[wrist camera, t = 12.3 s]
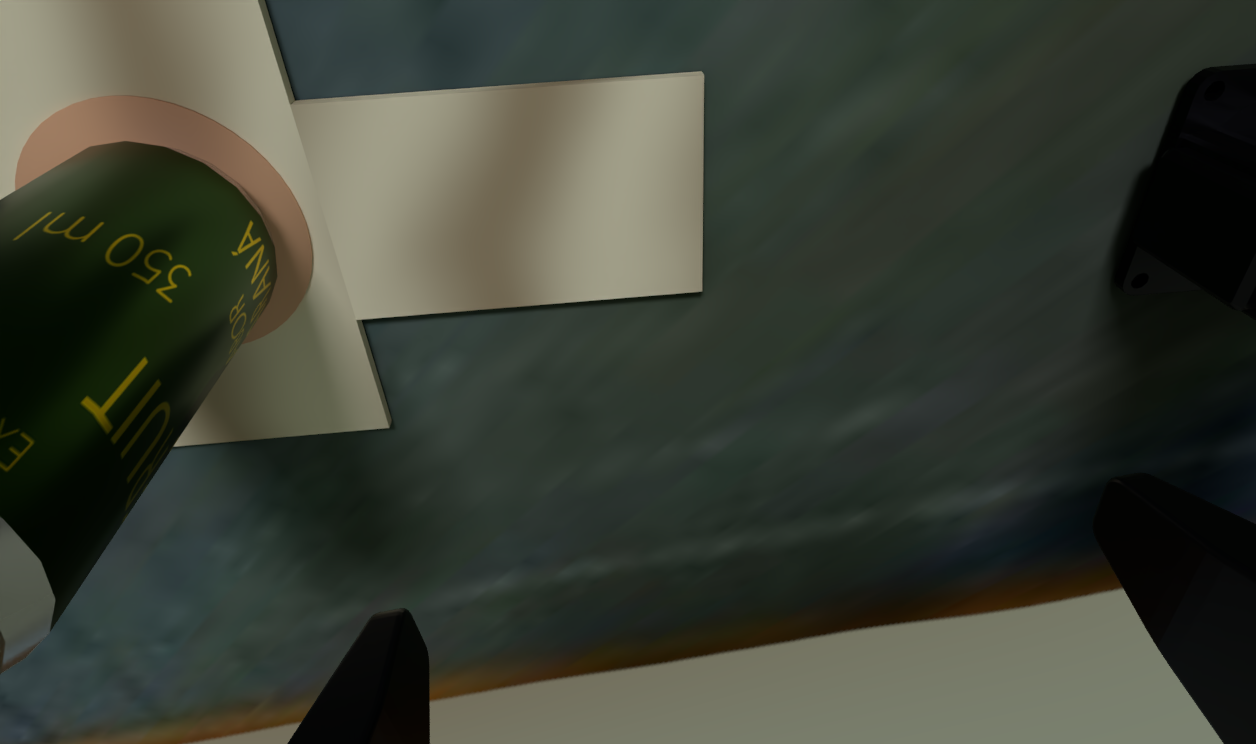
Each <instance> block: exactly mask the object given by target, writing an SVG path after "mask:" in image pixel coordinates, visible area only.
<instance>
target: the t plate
mask: <svg viewBox="0 0 1256 744" xmlns="http://www.w3.org/2000/svg"><path fill="white" fill-rule="evenodd" d="M121 141H130V142H137V143H144V144H151V145H158V146H164V147H170V148H175V149H180V150H182V151H184V152H187V153H189V154H191V155H194V156H196V157H198V158H201V159H203V160H206V161H208V162H210V163H212V164H213V165H215V166H216V167H217V168H219V169H220V170H221V171H223V172H224V173H226V174H227V175H228V176H230V177H231V178H232V179H234V180H235V181H236V182H238V183H239V184H240V185H241V186H242V188H243V189H244V190H245V191H246V192H247V194H248V195H249V196H250V197H251V198H252V200H253V201H254V202H255V203H256V204H257V206H258V207H259V208H260V210H261V212H262V214H263V217H264V219H265V221H266V223H267V226H268V228H269V230H270V232H271V235H272V238H273V242H274V246H275V254H276V265H277V276H278V277H277V280H276V283H275V286H274V289H273V293H272V296H271V299H270V302H269V303H268V305H267V306H266V308H265V309H264V311H263V312H262V314H261V315H260V317H259V318H258V320H257V321H256V323H255V324H254V326H253V327H252V329H251V330H250V332H249V333H248V335H247V336H246V338H245V339H244V341H243V342H242V344H241V346H240V347H239V349H238V350H237V352H236V353H235V355H234V356H233V358H232V359H231V361H230V362H229V364H228V365H227V367H226V368H225V370H224V371H223V373H222V374H221V376H220V377H219V379H218V380H217V382H216V383H215V385H214V386H213V388H212V389H211V391H210V392H209V394H208V395H207V397H206V398H205V400H204V401H203V403H202V404H201V406H200V407H199V409H198V410H197V412H196V413H195V415H194V416H193V418H192V419H191V421H190V422H189V424H188V425H187V427H186V428H185V430H184V431H183V433H182V434H181V436H180V437H179V439H178V440H177V442H176V443H175V445H174V446H173V447H176V446H188V445H199V444H211V443H222V442H234V441H245V440H257V439H268V438H279V437H291V436H302V435H314V434H325V433H337V432H348V431H360V430H371V429H383V428H390V424H391V421H392V419H391V416H390V413H389V409H388V406H387V403H386V399H385V396H384V393H383V389H382V386H381V383H380V380H379V376H378V373H377V370H376V366H375V363H374V360H373V356H372V353H371V350H370V347H369V343H368V340H367V337H366V333H365V330H364V327H363V323H362V319H374V318H387V317H399V316H411V315H423V314H435V313H447V312H460V311H472V310H484V309H496V308H508V307H520V306H533V305H545V304H557V303H569V302H581V301H594V300H606V299H618V298H630V297H642V296H654V295H667V294H679V293H691V292H702V259H703V141H704V74H703V73H702V71H699V72H685V73H671V74H657V75H644V76H630V77H616V78H602V79H588V80H574V81H560V82H546V83H533V84H519V85H505V86H491V87H477V88H463V89H449V90H435V91H422V92H408V93H394V94H380V95H366V96H352V97H338V98H324V99H310V100H297V101H295V99H294V96H293V92H292V89H291V86H290V83H289V79H288V76H287V73H286V69H285V66H284V63H283V59H282V56H281V53H280V50H279V46H278V43H277V40H276V36H275V33H274V30H273V26H272V23H271V20H270V17H269V13H268V10H267V7H266V3H265V0H0V200H1V199H2V198H4V197H6V196H7V195H9V194H11V193H12V192H14V191H16V190H17V189H19V188H21V187H22V186H24V185H26V184H27V183H29V182H31V181H32V180H34V179H36V178H37V177H39V176H41V175H42V174H44V173H46V172H47V171H49V170H51V169H52V168H54V167H56V166H58V165H59V164H61V163H63V162H64V161H66V160H68V159H69V158H71V157H73V156H74V155H76V154H78V153H79V152H81V151H83V150H85V149H86V148H88V147H90V146H95V145H102V144H108V143H115V142H121Z"/></svg>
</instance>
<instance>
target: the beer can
mask: <svg viewBox="0 0 1256 744" xmlns="http://www.w3.org/2000/svg"><path fill="white" fill-rule="evenodd" d="M277 277H278V276H277V265H276V254H275V246H274V242H273V238H272V235H271V232H270V230H269V228H268V226H267V223H266V221H265V219H264V217H263V214H262V212H261V210H260V208H259V207H258V206H257V204H256V203H255V202H254V201H253V200H252V198H251V197H250V196H249V195H248V194H247V192H246V191H245V190H244V189H243V188H242V186H241V185H240V184H239V183H238V182H236V181H235V180H234V179H232V178H231V177H230V176H228V175H227V174H226V173H224V172H223V171H221V170H220V169H219V168H217V167H216V166H215V165H213V164H212V163H210V162H208V161H206V160H203V159H201V158H198V157H196V156H194V155H191V154H189V153H187V152H184V151H182V150H180V149H175V148H170V147H164V146H158V145H151V144H144V143H137V142H130V141H121V142H115V143H108V144H102V145H95V146H90V147H88V148H86V149H85V150H83V151H81V152H79V153H78V154H76V155H74V156H73V157H71V158H69V159H68V160H66V161H64V162H63V163H61V164H59V165H58V166H56V167H54V168H52V169H51V170H49V171H47V172H46V173H44V174H42V175H41V176H39V177H37V178H36V179H34V180H32V181H31V182H29V183H27V184H26V185H24V186H22V187H21V188H19V189H17V190H16V191H14V192H12V193H11V194H9V195H7V196H6V197H4V198H2V199H1V200H0V674H1V673H2V672H4V671H5V670H7V669H9V668H10V667H12V666H13V665H15V664H17V663H18V662H20V661H21V660H23V659H25V658H26V657H27V656H28V655H29V654H30V653H31V652H32V650H33V649H34V648H35V647H36V646H37V645H38V644H39V643H40V642H41V641H42V640H43V639H44V638H45V637H46V636H47V635H48V634H49V633H50V631H51V630H52V628H53V627H54V625H55V624H56V622H57V621H58V619H59V618H60V616H61V615H62V613H63V612H64V610H65V609H66V607H67V606H68V604H69V603H70V601H71V600H72V598H73V597H74V595H75V594H76V592H77V591H78V589H79V588H80V586H81V585H82V583H83V582H84V580H85V579H86V577H87V576H88V574H89V573H90V571H91V570H92V568H93V567H94V565H95V564H96V562H97V561H98V559H99V558H100V556H101V554H102V553H103V551H104V550H105V548H106V547H107V545H108V544H109V542H110V541H111V539H112V538H113V536H114V535H115V533H116V532H117V530H118V529H119V527H120V526H121V524H122V523H123V521H124V520H125V518H126V517H127V515H128V514H129V512H130V511H131V509H132V508H133V506H134V505H135V503H136V502H137V500H138V499H139V497H140V496H141V494H142V493H143V491H144V490H145V488H146V487H147V485H148V484H149V482H150V481H151V479H152V478H153V476H154V475H155V473H156V472H157V470H158V469H159V467H160V466H161V464H162V463H163V461H164V460H165V458H166V457H167V455H168V454H169V452H170V451H171V449H172V448H173V446H174V445H175V443H176V442H177V440H178V439H179V437H180V436H181V434H182V433H183V431H184V430H185V428H186V427H187V425H188V424H189V422H190V421H191V419H192V418H193V416H194V415H195V413H196V412H197V410H198V409H199V407H200V406H201V404H202V403H203V401H204V400H205V398H206V397H207V395H208V394H209V392H210V391H211V389H212V388H213V386H214V385H215V383H216V382H217V380H218V379H219V377H220V376H221V374H222V373H223V371H224V370H225V368H226V367H227V365H228V364H229V362H230V361H231V359H232V358H233V356H234V355H235V353H236V352H237V350H238V349H239V347H240V346H241V344H242V342H243V341H244V339H245V338H246V336H247V335H248V333H249V332H250V330H251V329H252V327H253V326H254V324H255V323H256V321H257V320H258V318H259V317H260V315H261V314H262V312H263V311H264V309H265V308H266V306H267V305H268V303H269V302H270V299H271V296H272V293H273V289H274V286H275V283H276V280H277Z"/></svg>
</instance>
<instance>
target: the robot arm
mask: <svg viewBox="0 0 1256 744" xmlns="http://www.w3.org/2000/svg"><path fill="white" fill-rule="evenodd" d="M1213 82H1214V85H1213V88H1212V89H1211V91H1210V92H1209V93H1208V94H1207V95H1205V91H1206V90H1207V88H1208V86H1210V85H1211V84H1212V83H1213ZM1138 274H1139V276H1138V277H1137V278H1136V279H1135V280H1134V281H1132V280H1133V279H1134V277H1136V276H1137V275H1138ZM1115 284H1116V286H1117V287H1118V288H1120V289H1121V290H1122V291H1124V292H1125V293H1127V294H1128V295H1145V294H1157V293H1169V292H1181V291H1193V290H1204V291H1206V292H1207V293H1209V294H1210V295H1212V296H1213V297H1215V298H1216V299H1218V300H1220V301H1221V302H1223V303H1224V304H1226V305H1227V306H1229V307H1230V308H1232V309H1234V310H1241V311H1242V312H1244V313H1245V314H1247V315H1248V316H1250V317H1251V318H1253V319H1254V320H1256V64H1246V65H1233V66H1219V67H1210V68H1206V69H1203V70H1202V71H1200V72H1198V73H1197V74H1195V76H1194V77H1193V78H1192V79H1191V80H1190V81H1189V83H1188V84H1187V86H1186V88H1185V90H1184V93H1183V96H1182V98H1181V101H1180V104H1179V107H1178V109H1177V112H1176V115H1175V117H1174V120H1173V123H1172V125H1171V128H1170V131H1169V133H1168V136H1167V139H1166V142H1165V144H1164V147H1163V150H1162V152H1161V155H1160V158H1159V160H1158V163H1157V166H1156V168H1155V171H1154V174H1153V176H1152V179H1151V182H1150V185H1149V187H1148V190H1147V193H1146V195H1145V198H1144V201H1143V203H1142V206H1141V209H1140V211H1139V214H1138V217H1137V219H1136V222H1135V225H1134V228H1133V230H1132V233H1131V236H1130V238H1129V241H1128V244H1127V246H1126V249H1125V252H1124V254H1123V257H1122V260H1121V263H1120V265H1119V268H1118V271H1117V273H1116V276H1115ZM1093 531H1094V535H1095V538H1096V540H1097V542H1098V544H1099V546H1100V547H1101V549H1102V551H1103V553H1104V555H1105V556H1106V558H1107V560H1108V562H1109V563H1110V565H1111V567H1112V569H1113V571H1114V572H1115V574H1116V576H1117V578H1118V580H1119V581H1120V583H1121V585H1122V587H1123V588H1124V590H1125V592H1126V594H1127V596H1128V597H1129V599H1130V601H1131V603H1132V605H1133V606H1134V608H1135V610H1136V612H1137V613H1138V615H1139V617H1140V619H1141V621H1142V622H1143V624H1144V626H1145V628H1146V629H1147V631H1148V633H1149V634H1150V636H1151V638H1152V639H1153V641H1154V643H1155V644H1156V646H1157V647H1158V649H1159V651H1160V652H1161V654H1162V655H1163V657H1164V658H1165V660H1166V661H1167V663H1168V664H1169V666H1170V667H1171V669H1172V670H1173V672H1174V673H1175V674H1176V676H1177V677H1178V679H1179V680H1180V682H1181V683H1182V684H1183V686H1184V687H1185V689H1186V690H1187V692H1188V693H1189V695H1190V696H1191V697H1192V699H1193V700H1194V702H1195V703H1196V705H1197V706H1198V707H1199V709H1200V710H1201V712H1202V713H1203V714H1204V716H1205V717H1206V719H1207V720H1208V722H1209V723H1210V725H1211V726H1212V727H1213V729H1214V730H1215V731H1216V733H1217V734H1218V736H1219V738H1220V739H1221V740H1222V742H1223V743H1224V744H1256V524H1254V523H1252V522H1250V521H1248V520H1246V519H1243V518H1241V517H1239V516H1237V515H1235V514H1233V513H1231V512H1229V511H1226V510H1224V509H1222V508H1220V507H1218V506H1216V505H1214V504H1212V503H1209V502H1207V501H1205V500H1203V499H1201V498H1199V497H1197V496H1195V495H1192V494H1190V493H1188V492H1186V491H1184V490H1182V489H1180V488H1178V487H1176V486H1173V485H1171V484H1169V483H1167V482H1165V481H1163V480H1161V479H1159V478H1156V477H1154V476H1152V475H1149V474H1146V473H1134V474H1129V475H1124V476H1118V477H1114V478H1112V479H1110V480H1109V481H1108V482H1107V484H1106V486H1105V488H1104V491H1103V494H1102V496H1101V499H1100V502H1099V505H1098V507H1097V510H1096V513H1095V516H1094V518H1093ZM429 712H430V709H429V656H428V651H427V647H426V644H425V642H424V640H423V638H422V636H421V634H420V632H419V630H418V627H417V625H416V623H415V621H414V619H413V617H412V615H411V613H410V612H409V611H408V610H407V609H405V608H400V609H394V610H389V611H384V612H379V613H376V614H374V615H373V616H372V617H371V618H370V619H369V620H368V622H367V623H366V625H365V626H364V628H363V629H362V631H361V632H360V634H359V636H358V637H357V639H356V640H355V642H354V643H353V645H352V646H351V648H350V649H349V651H348V652H347V654H346V655H345V657H344V658H343V660H342V661H341V663H340V664H339V666H338V668H337V669H336V671H335V672H334V674H333V675H332V677H331V678H330V680H329V681H328V683H327V684H326V686H325V687H324V689H323V690H322V692H321V693H320V695H319V696H318V698H317V700H316V701H315V703H314V704H313V706H312V707H311V709H310V710H309V712H308V713H307V715H306V716H305V718H304V719H303V721H302V722H301V724H300V725H299V727H298V729H297V730H296V732H295V733H294V735H293V736H292V738H291V739H290V741H289V742H288V744H430V717H429V716H430V713H429Z"/></svg>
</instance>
